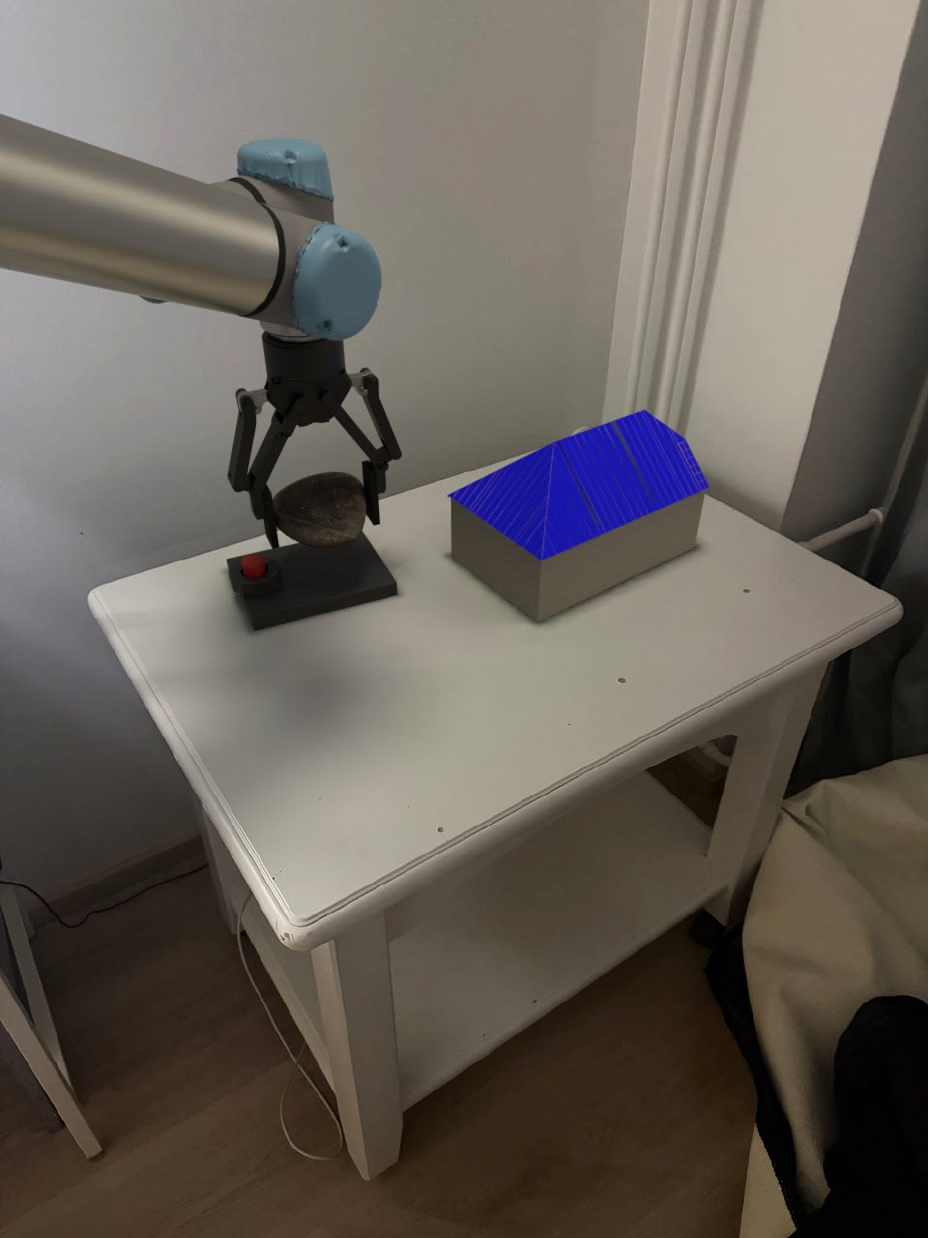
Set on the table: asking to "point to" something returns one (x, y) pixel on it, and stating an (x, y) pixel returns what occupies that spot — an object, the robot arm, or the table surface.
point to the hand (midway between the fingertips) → (323, 530)
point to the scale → (310, 581)
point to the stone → (322, 510)
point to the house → (580, 514)
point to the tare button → (253, 566)
